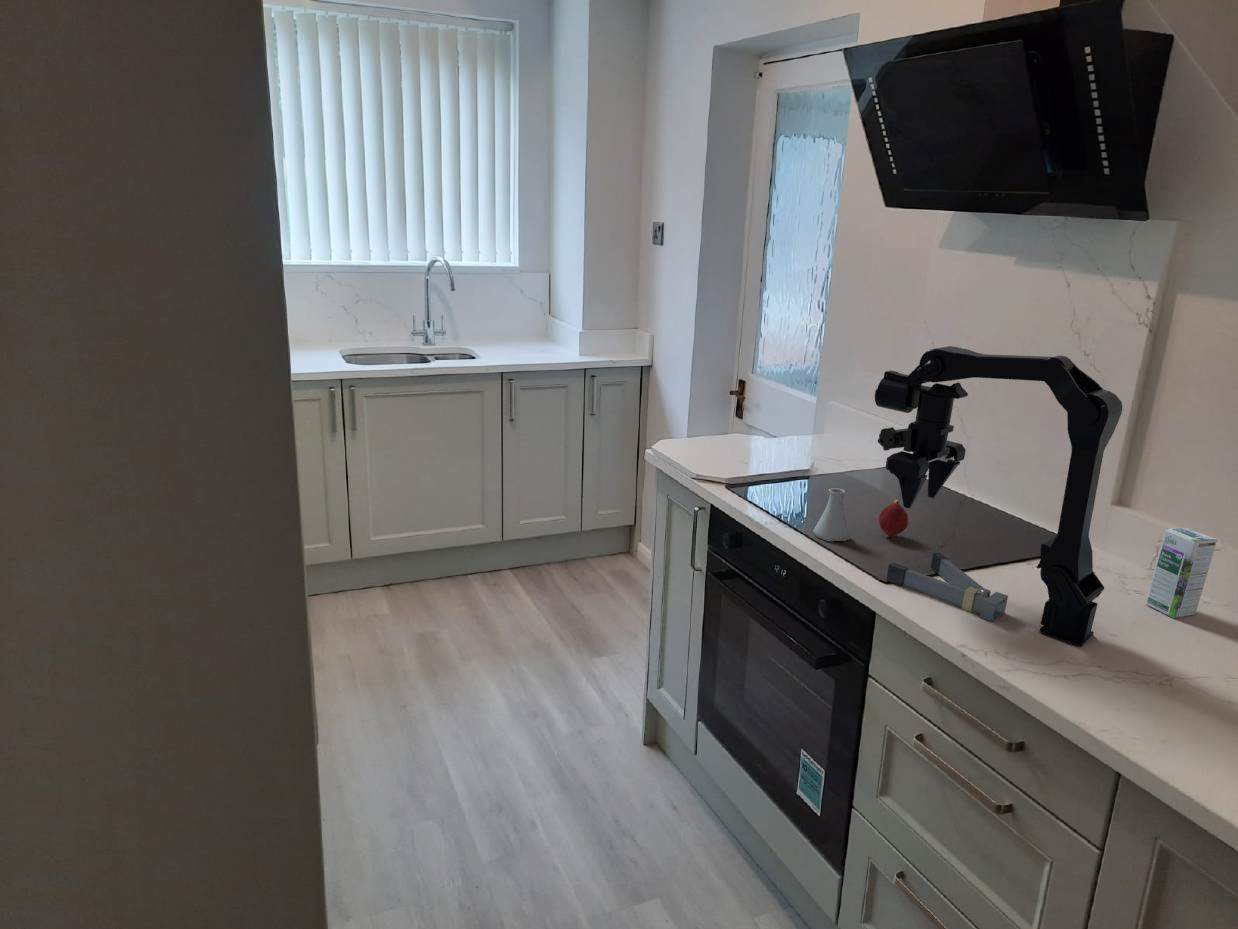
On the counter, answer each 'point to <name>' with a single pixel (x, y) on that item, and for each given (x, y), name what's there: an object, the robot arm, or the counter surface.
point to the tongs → (949, 592)
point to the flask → (833, 519)
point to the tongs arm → (955, 574)
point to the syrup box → (1180, 572)
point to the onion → (893, 519)
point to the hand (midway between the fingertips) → (919, 502)
